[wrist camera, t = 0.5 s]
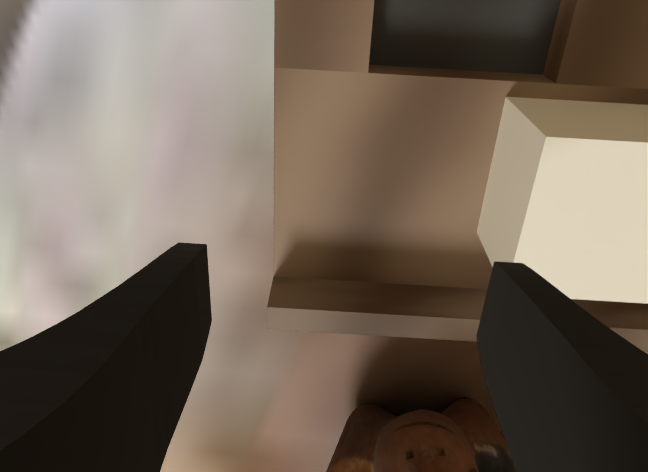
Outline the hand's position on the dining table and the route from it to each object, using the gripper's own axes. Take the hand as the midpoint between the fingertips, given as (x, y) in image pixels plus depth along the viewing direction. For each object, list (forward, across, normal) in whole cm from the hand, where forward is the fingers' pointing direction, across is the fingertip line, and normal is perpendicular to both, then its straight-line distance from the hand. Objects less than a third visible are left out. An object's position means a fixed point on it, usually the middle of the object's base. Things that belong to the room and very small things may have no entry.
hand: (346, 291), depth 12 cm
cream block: (+8, -8, 0) cm, 11 cm away
